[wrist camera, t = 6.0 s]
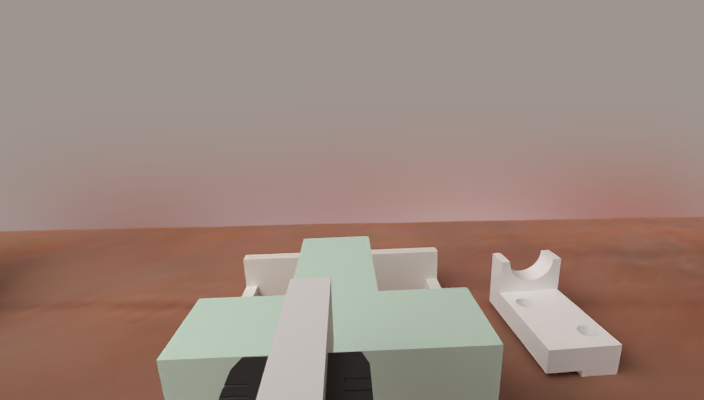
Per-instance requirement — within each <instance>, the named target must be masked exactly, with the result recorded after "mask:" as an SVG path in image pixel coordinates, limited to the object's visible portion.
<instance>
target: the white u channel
mask: <svg viewBox="0 0 704 400" xmlns="http://www.w3.org/2000/svg"><path fill="white" fill-rule="evenodd" d="M371 253H372V259H373V265H374V270H375V276H376V281H377V287H378V291H390V290H413V289H437V288H441V286H440V284H439V282H438V280H437V253H438V252H437V250H436V248H435V247H428V248H404V249H380V250H371ZM299 255H300V253H284V254H260V255H246V256H245V258H244V259H243V262H244V270H245V278H246V286H247V287H246V289H245V291H244V293H243V295H242V297H251V296H274V295H286V292H287V289H288V285H289V282H290V279H293V278H294V274H295V270H296V267H297V263H298V259H299Z"/></svg>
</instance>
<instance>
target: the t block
mask: <svg viewBox="0 0 704 400" xmlns="http://www.w3.org/2000/svg"><path fill="white" fill-rule="evenodd" d="M321 277H331V292H332V313H333V335H334V347H333V353H334V352H360V351H362V353H363V354H364V356H365V357H366V359H367V360H368V361H369V363H370V370H371V380H372V391H373V400H499V389H500V378H501V367H502V356H503V343H502V342H501V340H500V338H499V337H498V335H497V334H496V332H495V331H494V329H493V327H492V326H491V324H490V323H489V321H488V320H487V318H486V316H485V315H484V313H483V312H482V310H481V309H480V307H479V305H478V304H477V302H476V301H475V299H474V298H473V296H472V295H471V293H470V291H469V290H468V288H467V287H460V288H437V289H413V290H390V291H378V287H377V281H376V276H375V270H374V265H373V259H372V253H371V248H370V242H369V237H368V236H361V237H337V238H312V239H304V240H303V244H302V248H301V252H300V255H299V259H298V263H297V267H296V270H295V274H294V278H321ZM285 296H286V295H274V296H251V297H228V298H204V299H199V300H198V301H197V303H196V304H195V306H194V307H193V308H192V310H191V311H190V313H189V314H188V316H187V317H186V318H185V320H184V321H183V323H182V324H181V326H180V327H179V329H178V330H177V331H176V333H175V334H174V336H173V337H172V339H171V340H170V341H169V343H168V344H167V346H166V347H165V349H164V350H163V352H162V353H161V354H160V356H159V357H158V359H157V360H156V361H157V366H158V371H159V375H160V380H161V385H162V390H163V394H164V399H165V400H219V396H220V394H221V391H222V389H223V388H224V384H225V382H226V379H227V377H228V374H229V372H230V370H231V369H232V368H233V367H234V365H235V364H236V363H237V362H238V361H239V360H240V359H241V358H242V357H262V356H268V355H269V352H270V348H271V345H272V341H273V338H274V334H275V331H276V327H277V324H278V320H279V317H280V313H281V310H282V306H283V303H284V299H285Z"/></svg>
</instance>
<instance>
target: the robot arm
mask: <svg viewBox="0 0 704 400" xmlns="http://www.w3.org/2000/svg"><path fill="white" fill-rule="evenodd" d="M333 347H334V335H333V313H332V292H331V277H321V278H293V279H290V282H289V285H288V289H287V292H286V296H285V299H284V303H283V306H282V310H281V313H280V317H279V320H278V324H277V327H276V331H275V334H274V338H273V341H272V345H271V348H270V352H269V355H268V356H262V357H242V358H241V359H240V360H239V361H238V362H237V363H236V364H235V365H234V367H233V368H232V369H231V370H230V372H229V374H228V377H227V379H226V382H225V384H224V388H223V389H222V391H221V394H220V396H219V400H373V391H372V380H371V370H370V363H369V361H368V360H367V359H366V357H365V356H364V354H363V353H362V351H360V352H334V353H333Z"/></svg>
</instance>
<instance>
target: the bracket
mask: <svg viewBox="0 0 704 400" xmlns="http://www.w3.org/2000/svg"><path fill="white" fill-rule="evenodd" d="M560 264H561V258H559V257H558V256H557V255H555V254H554V253H552V252H551V251H549V250H541V254H540V257H539V259H538V260H537V262H536V263H535V264H534V265H532V266H531V267H529V268H528V269H525V270H521V271H515V270H511V267H510V261H509V260H508V259H506V258H505V257H504V256H503V255H502V254H501V253H493V259H492V273H491V287H490V302H491V303H492V305H493V306H494V307H495V309H496V310H497V311H498V312H499V314H500V315H501V316H502V318H503V319H504V320H505V321H506V323H507V324H508V325H509V327H510V328H511V329H512V330H513V332H514V333H515V334H516V336H517V337H518V338H519V339H520V341H521V342H522V343H523V345H524V346H525V347H526V348H527V350H528V351H529V352H530V354H531V355H532V356H533V357H534V359H535V360H536V361H537V363H538V364H539V365H540V366H541V368H542V369H543V370H544V372H545V373H546V374H548V373H561V372H574V371H577V372H578V374H579V375H580V376H581V377H585V376H598V375H612V374H617V371H618V366H619V361H620V355H621V350H622V344H621V343H620V342H618V341H617V340H616V339H615V338H614V337H613V336H611V335H610V334H609V333H608V332H607V331H606V330H604V329H603V328H602V327H601V326H600V325H599V324H597V323H596V322H595V321H594V320H593V319H592V318H590V317H589V316H588V315H587V314H586V313H584V312H583V311H582V310H581V309H580V308H579V307H577V306H576V305H575V304H574V303H573V302H572V301H570V300H569V299H568V298H567V297H566V296H565V295H563V294H562V293H561V292H560V291H559V290H558V289H557V288H558V280H559V272H560Z"/></svg>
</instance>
